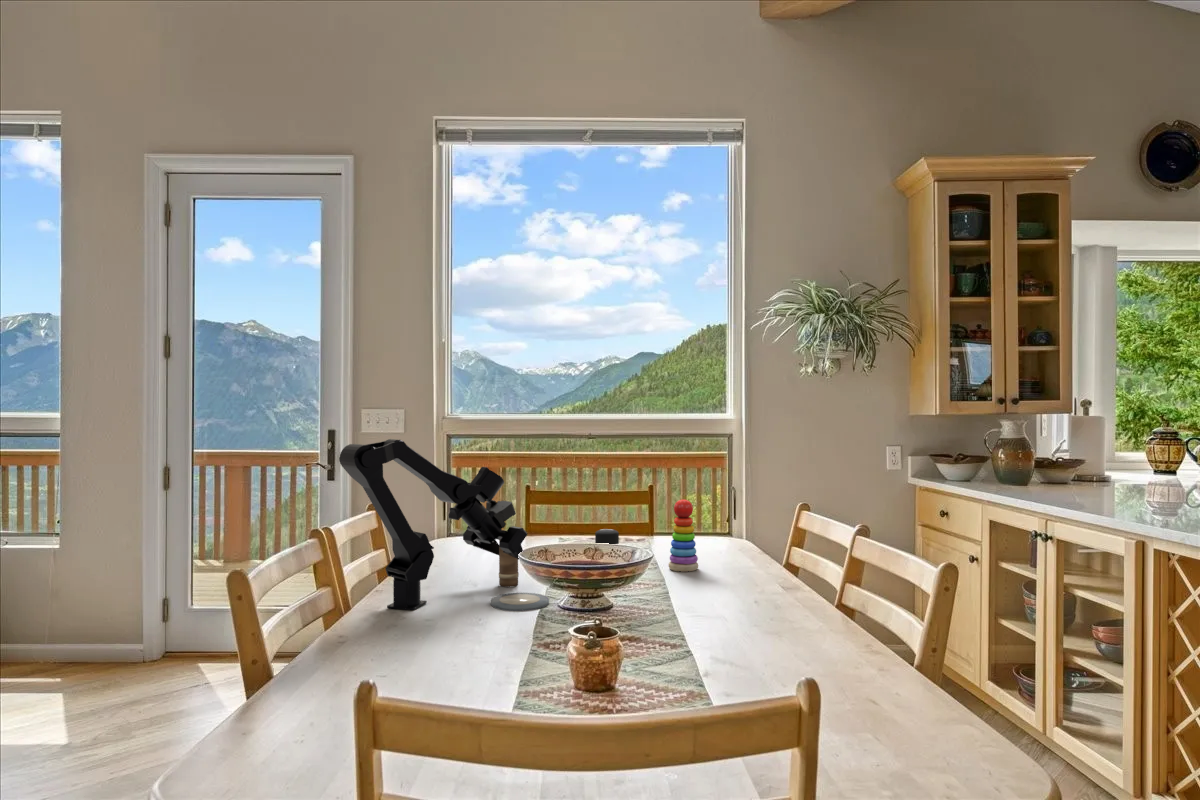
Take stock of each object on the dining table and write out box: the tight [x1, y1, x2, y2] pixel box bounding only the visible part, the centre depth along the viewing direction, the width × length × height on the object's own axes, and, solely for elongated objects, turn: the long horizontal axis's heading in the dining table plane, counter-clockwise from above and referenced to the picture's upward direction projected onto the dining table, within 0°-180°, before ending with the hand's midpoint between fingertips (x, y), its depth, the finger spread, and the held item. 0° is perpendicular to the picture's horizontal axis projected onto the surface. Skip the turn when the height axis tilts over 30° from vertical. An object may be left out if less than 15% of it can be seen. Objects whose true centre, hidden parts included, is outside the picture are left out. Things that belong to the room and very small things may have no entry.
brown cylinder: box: [498, 540, 520, 588], centre depth 199 cm, size 5×5×11 cm
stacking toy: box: [668, 499, 699, 573], centre depth 217 cm, size 8×8×19 cm
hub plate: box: [489, 592, 550, 612], centre depth 181 cm, size 13×13×1 cm
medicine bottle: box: [594, 528, 620, 545], centre depth 207 cm, size 7×7×12 cm
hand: (513, 556), depth 200 cm, fingers open, 8 cm apart
